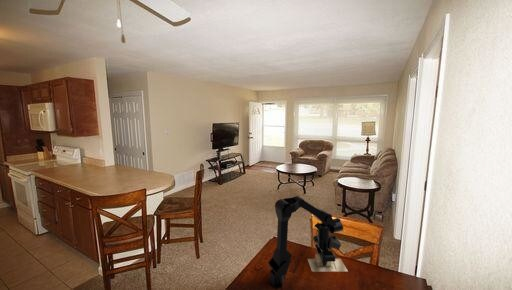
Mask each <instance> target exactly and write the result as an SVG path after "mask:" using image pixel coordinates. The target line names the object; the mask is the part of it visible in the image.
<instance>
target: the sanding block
mask: <svg viewBox="0 0 512 290" xmlns="http://www.w3.org/2000/svg"><path fill="white" fill-rule="evenodd" d="M320 254H321V253H320ZM314 259H315V262H316V264H317V267H331V262H327V264H326V266H323V263H322V260H321V258H320V255H319V254H318V253H315V256H314Z"/></svg>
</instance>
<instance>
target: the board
mask: <svg viewBox="0 0 512 290" xmlns="http://www.w3.org/2000/svg"><path fill="white" fill-rule="evenodd" d="M307 261H308V265H309V267H310V269H311V273H312V272H313V273H319V272H328V273H329V272H339V273H341V272H349V271H348V269H347V267H346V265H345V264H344V262H343V260H342V259H341V258H336V260H335V261H331V267H317V264H316V262H315V258H307Z"/></svg>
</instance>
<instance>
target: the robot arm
mask: <svg viewBox="0 0 512 290" xmlns="http://www.w3.org/2000/svg"><path fill="white" fill-rule="evenodd" d="M301 208H302V209H303V210H305V211H307V212H309V213H310V214H312V216H313V217H315V219H316V220H318V222H317V223H316V224H314V227H315V228H316V229H317V234H316V235H314V236H313V237H312V242H313V243H314V244H315V245H314V246H315V248H316V251H317V254H319V255H320V258H321V260H322V263H323V266H326V264H327V262H331V261H335V260H336V259H337V258H336V256H335V254H334V252H333V251H331V250H332V249H334V250H336V251H339V250H340V249H341V246H342V243H341V241H340V240H339V239H337V237H336V235H334V234H336V233H339V232H342V231H343V230H344V225H343V223H342V222H341V221H342V220H341V219H340V218H338V217H336V218H333V214H331V213H329V212H328V211H326V210H324V209H322V208H319V207H315V206H314V205H313V204H311V203H309V202H308V201H306V200H305V199H304V198H302V197H300V196H298V195H296V196H292V197H285V198H282V199H281V198H280V199H278V200H277V201H276V202H275V203H274V210H275V214H276V217H277V232H276V248H275V249H274V250H273V254H272V257H271V259H270V260H269V261H268V263H267V265H268V266H269V267H270V269H271V270H270V271H269V272H270V273H269V274H270V275H269V277H270V278H268V283H270V284H271V286H273V287H274V289H276V290H277V289H280V288H282V287H283V283H284V281H285V279H286V276H287V273H288V270H289V267H290V266H291V265H290V264H292V261H291V259H292V253H291V252H290V251H288V236H289V235H288V232H289V231H288V230H289V220H290V218H291V217H292V216H293V215H292V214H293V213H296V212H297V211H298V210H299V209H301ZM330 233H331V234H332V235H330ZM320 253H321V254H320Z"/></svg>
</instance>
